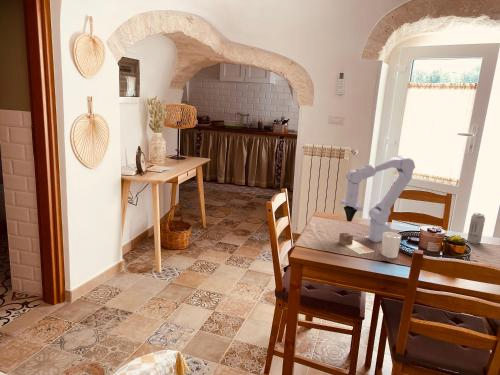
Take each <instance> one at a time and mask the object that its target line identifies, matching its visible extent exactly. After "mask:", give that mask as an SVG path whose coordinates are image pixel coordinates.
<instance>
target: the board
mask: <svg viewBox="0 0 500 375" xmlns="http://www.w3.org/2000/svg"><path fill="white" fill-rule="evenodd" d="M338 243H339V244H341V243H340V242H339V241H338ZM344 247H346V248H347V249H350V250H351V251H354V252H355V253H357V254H359V255H362V254H369V253H374V252H376V251H375V250H373V249H370V248H369V247H367V246H365V245H363V244H361V243H360V242H358V241H356V240H354V239H353V242H352V244H351V245H344Z"/></svg>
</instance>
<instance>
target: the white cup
mask: <svg viewBox="0 0 500 375" xmlns="http://www.w3.org/2000/svg"><path fill="white" fill-rule="evenodd" d="M401 241H402V235H401V234H399V233H397V232H394V231H393V232H392V231H389V232H384V233H383V239H382V241H381V255H383V256H384V257H385V258H387V259H396V258H398V255H399V254H398V253H399V251H400V247H401Z"/></svg>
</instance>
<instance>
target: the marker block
mask: <svg viewBox="0 0 500 375" xmlns="http://www.w3.org/2000/svg"><path fill="white" fill-rule="evenodd" d="M338 240H339V241H338V243H339V242H340V243H339V244H342V245H343V246H345V245H351V244H352V242H353V240H354V235H353V234H351V233H349V232H340V233H339V237H338Z"/></svg>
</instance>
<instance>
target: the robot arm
mask: <svg viewBox="0 0 500 375" xmlns="http://www.w3.org/2000/svg"><path fill="white" fill-rule="evenodd" d="M391 168H394V169H396V171H397V173H398V177H397V179H396V180H395V182H394V183H393V184H392V186H391V187H390V189H389V190H388V191H387V192H386V195H385V196H383V199H382V200H381V201H380V202H378V203H377V204H375V206H374V207H372V208H371V209H370V210H369V212H368V215H369V218H370V220H369V229H368V235H365V236H364V237H365V238H366V239H368V240H370V241H371V242H375V243H377V242H382V239H383V233H384V232H390V224H389V222H388V221H389V218H390V217H389V216H390V215H391V208H392V207H393V206H394V204H395V203H396V201H397V200H398V198H399V197H400V196H401V194H402V192H403V191H404V190H405V188H406V187H407V186H408V185H409V183H410V181H411V180H412V177H413V172H414V170H415V168H416V166H415V161H414V160H413V159H412V158H410V157H405V156H403V155H397V156H393V157H391V158H388V159H387V160H384V161H381V162H379V163H378V164H375V165H372V164H365V166H362V167H360V168H359V167H356V169H350V170H349V171H348V172H347V174H346V175H345V177H346V179H347V185H346V193H345V199H340V204H341V205H344V206H343V209H344V213H345V216H346V218H345V219H346V221H347V222H352V221H353V218H354V217H355V215H356V213H357V212H362V211H363V206H361V205H360V204H359V203H358V201H359V192H360V183H361V182H362V181H363V180H366V179H369V178H371V177H374V176H375V175H376V173H378V172H381V171H385V170H387V169H391Z"/></svg>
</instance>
